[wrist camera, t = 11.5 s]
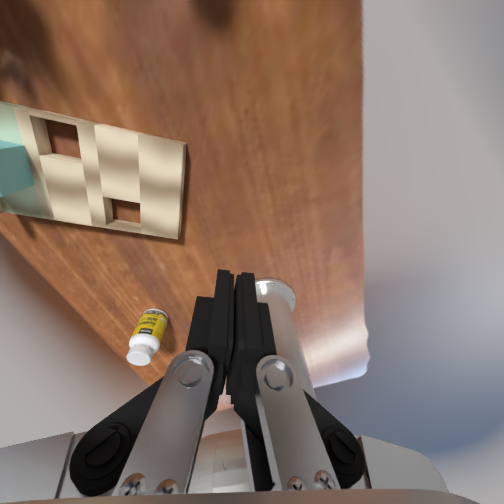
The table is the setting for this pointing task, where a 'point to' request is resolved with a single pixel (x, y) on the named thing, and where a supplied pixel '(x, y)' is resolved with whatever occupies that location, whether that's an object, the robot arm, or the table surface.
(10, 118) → the box
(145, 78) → the table surface
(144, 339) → the supplement bottle
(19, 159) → the block
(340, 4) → the table surface
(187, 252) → the table surface
